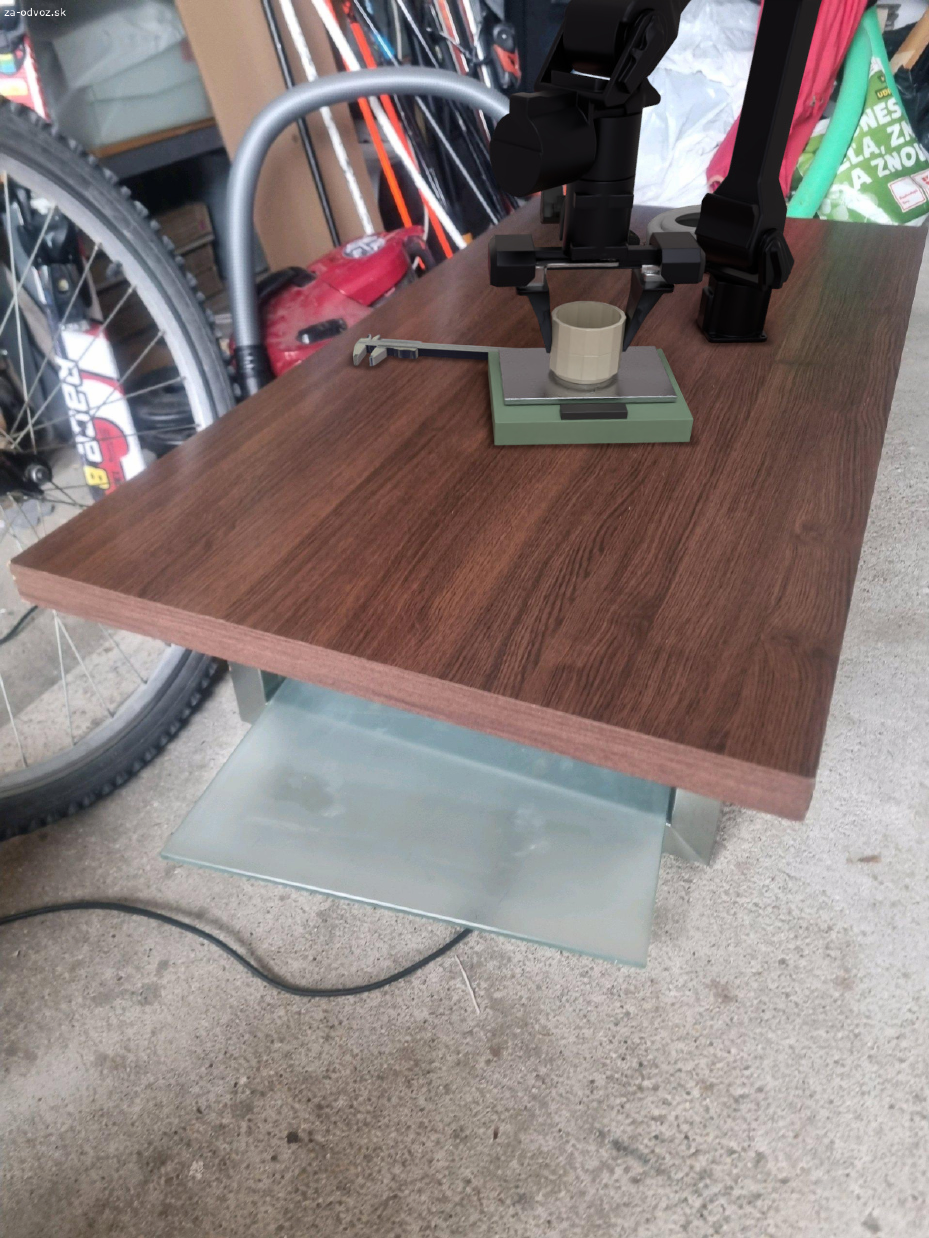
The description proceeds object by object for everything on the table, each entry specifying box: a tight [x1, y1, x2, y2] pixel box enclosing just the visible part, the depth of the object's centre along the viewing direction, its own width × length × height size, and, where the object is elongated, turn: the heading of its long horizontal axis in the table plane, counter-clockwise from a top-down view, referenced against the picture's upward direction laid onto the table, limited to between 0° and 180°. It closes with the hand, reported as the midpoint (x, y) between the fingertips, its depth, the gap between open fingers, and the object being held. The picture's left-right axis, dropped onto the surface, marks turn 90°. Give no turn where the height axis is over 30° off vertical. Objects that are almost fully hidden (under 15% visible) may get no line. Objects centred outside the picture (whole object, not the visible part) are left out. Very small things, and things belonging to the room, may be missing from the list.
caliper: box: [352, 333, 506, 367], centre depth 94 cm, size 20×1×6 cm
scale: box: [487, 348, 694, 446], centre depth 84 cm, size 18×15×3 cm
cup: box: [549, 300, 626, 384], centre depth 82 cm, size 7×7×6 cm
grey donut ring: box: [645, 203, 701, 245], centre depth 114 cm, size 17×6×15 cm
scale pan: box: [498, 345, 677, 405], centre depth 84 cm, size 16×11×1 cm
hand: (585, 350), depth 82 cm, fingers closed on cup, 7 cm apart
